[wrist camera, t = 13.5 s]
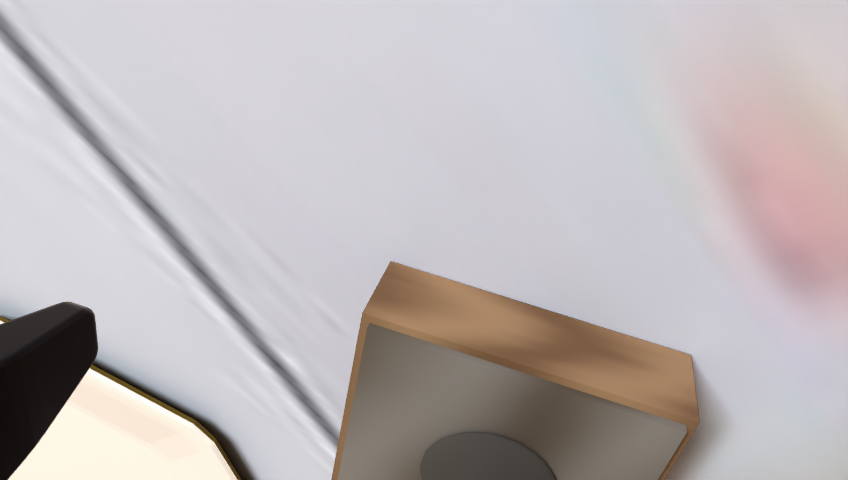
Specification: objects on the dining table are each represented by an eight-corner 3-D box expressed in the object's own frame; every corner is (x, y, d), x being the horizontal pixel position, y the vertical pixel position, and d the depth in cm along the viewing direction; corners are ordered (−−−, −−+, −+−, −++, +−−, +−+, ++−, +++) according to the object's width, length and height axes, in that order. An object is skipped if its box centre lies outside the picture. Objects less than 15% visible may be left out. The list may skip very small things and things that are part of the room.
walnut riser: (691, 354, 23) (700, 429, 20) (588, 537, 29) (584, 614, 26) (390, 261, 24) (359, 318, 22) (351, 455, 30) (322, 520, 28)
